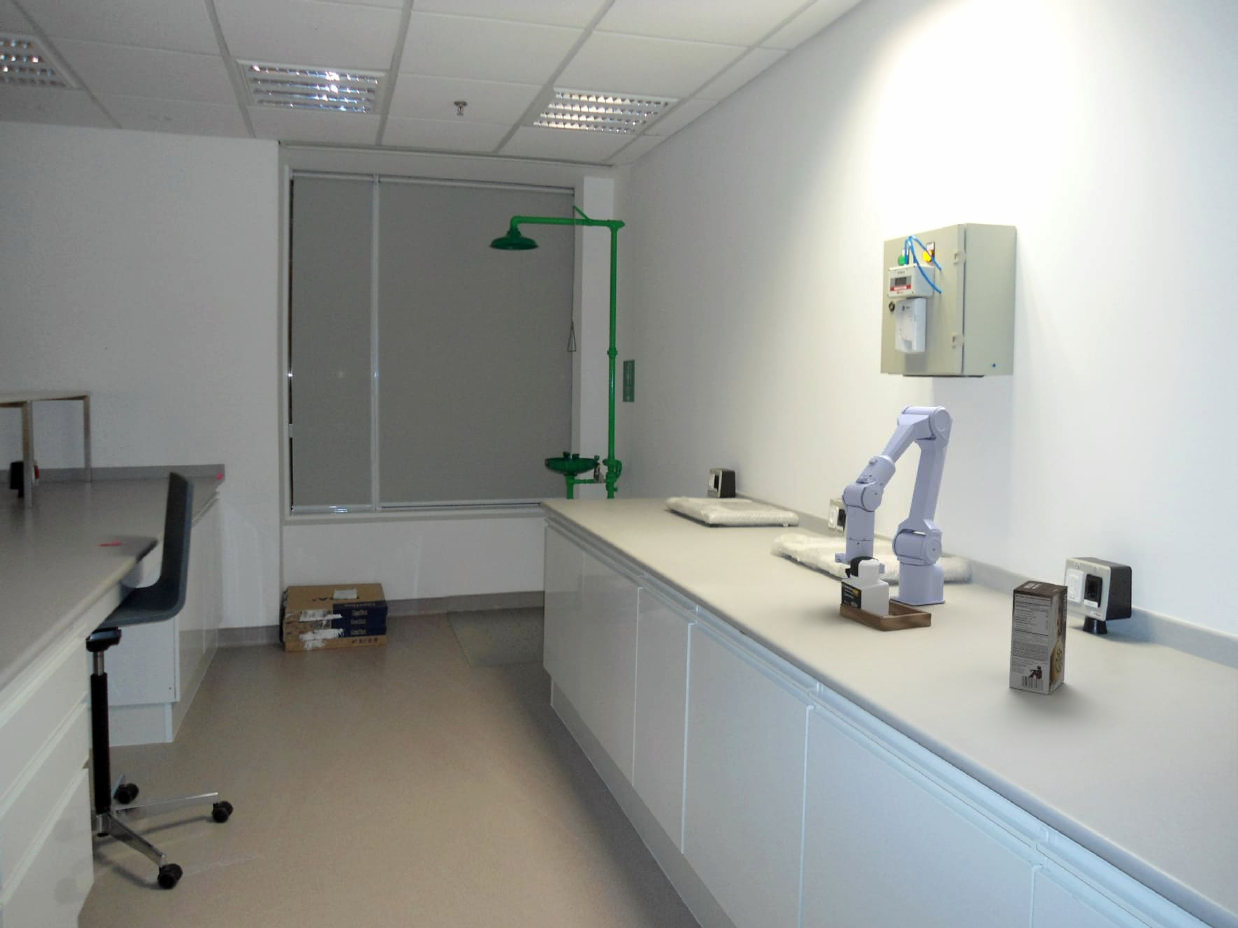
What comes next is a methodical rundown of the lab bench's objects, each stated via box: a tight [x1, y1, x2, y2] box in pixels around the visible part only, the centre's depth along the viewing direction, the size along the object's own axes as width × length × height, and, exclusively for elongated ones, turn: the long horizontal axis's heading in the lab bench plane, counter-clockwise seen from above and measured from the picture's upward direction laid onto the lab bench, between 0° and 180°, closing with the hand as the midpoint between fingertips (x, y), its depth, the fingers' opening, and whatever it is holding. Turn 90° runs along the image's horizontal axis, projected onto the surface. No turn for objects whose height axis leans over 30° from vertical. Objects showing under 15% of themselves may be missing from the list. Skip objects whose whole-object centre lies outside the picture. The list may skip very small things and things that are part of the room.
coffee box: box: [1008, 580, 1069, 696], centre depth 150 cm, size 9×6×16 cm
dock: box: [839, 599, 932, 632], centre depth 192 cm, size 12×14×2 cm
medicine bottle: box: [840, 556, 890, 617], centre depth 195 cm, size 7×7×12 cm
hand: (857, 601), depth 200 cm, fingers closed, pressing on medicine bottle
